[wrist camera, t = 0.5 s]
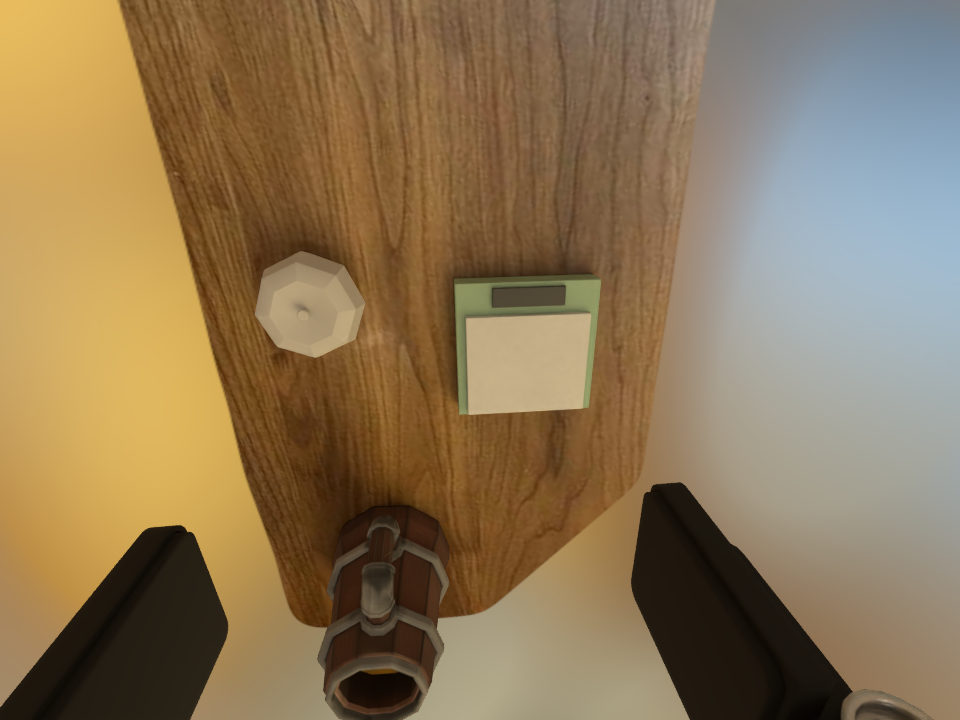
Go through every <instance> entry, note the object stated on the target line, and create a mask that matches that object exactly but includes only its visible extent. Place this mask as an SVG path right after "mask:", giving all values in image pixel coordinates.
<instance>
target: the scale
mask: <svg viewBox="0 0 960 720" xmlns="http://www.w3.org/2000/svg"><path fill="white" fill-rule="evenodd" d="M600 287H601V279H600V278H598V277H597V276H595V275H594V274H580V275H548V276H517V277H485V278H455V279H454V301H455V329H456V357H457V384H458V407H459V414H460V415H462V414H468V415H473V414H492V413H510V412H528V411H546V410H564V409H582V408H588V407H589V400H590V389H591V379H592V369H593V359H594V348H595V338H596V328H597V318H598V307H599V297H600Z"/></svg>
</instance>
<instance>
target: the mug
mask: <svg viewBox="0 0 960 720" xmlns="http://www.w3.org/2000/svg"><path fill="white" fill-rule="evenodd" d="M448 560H449V546H448V543H447V541H446V539H445V536H444V534H443V532H442V529H441V527H440V524H439V522H438V521H436V520H435V519H433V518H431V517H429V516H427V515H425V514H423V513H421V512H419V511H417V510H415V509H413V508H412V507H410V506H400V507H373V508H371V509H369V510H368V511H366V512H364V513H363V514H361V515H360V516H358V517H356V518H355V519H353V520H352V521H350V522H348V523H347V524H345V525H344V526H343V530H342V533H341V536H340V539H339V542H338V545H337V548H336V551H335V555H334V559H333V563H332V566H333V572H332V575H331V578H330V581H329V585H328V588H327V593H328V595H329V596H330V598H331V599H332V601H333V610H332V620H331V625H329V626H328V627H327V630H326V633H325V636H324V639H323V642H322V645H321V648H320V651H319V654H318V659H317V660H318V662H319V663H320V665H321V666H322V667H323V669H324V670H325V677H324V689H323V691H324V693H325V694H326V697H325V701H326V702H327V704H328V705H329V706H330V708H331V709H332V710H333V712H334V713H335V714H336V716H337V717H338V718H339V719H342V720H403V719H405V718H407V717H408V716H411V715H412V714H414V713H416V712H418V711H419V709H420V707H421V705H422V703H423V701H424V699H425V696H426V695H427V692H428V689H429V687H430V684H431V682H432V675H433V672H434V670H435V668H436V666H437V664H438V661H439V659H440V657H441V655H442V653H443V651H444V643H443V642H442V639H441V637H440V636H439V633H438V631H437V622H438V613H439V605H440V603H441V601H442V599H443V596H444V594H445V592H446V590H447V588H448V585H449V579H448V577H447V575H446V572H445V568H446V565H447V563H448Z"/></svg>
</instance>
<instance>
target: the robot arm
mask: <svg viewBox="0 0 960 720" xmlns="http://www.w3.org/2000/svg"><path fill="white" fill-rule="evenodd" d="M631 586H632V592H633V595H634V598H635V600H636V602H637V605H638V607H639V609H640V611H641V614H642V615H643V618H644V620H645V622H646V625H647V627H648V629H649V631H650V633H651V636H652V638H653V640H654V642H655V644H656V646H657V648H658V651H659V653H660V655H661V657H662V660H663V662H664V664H665V666H666V668H667V671H668V673H669V675H670V677H671V679H672V682H673V684H674V686H675V688H676V690H677V692H678V695H679V697H680V699H681V701H682V703H683V705H684V708H685V710H686V712H687V714H688V716H689V719H690V720H933V719H932V718H931V717H930V716H928V715H927V714H926V713H924V712H923V711H922V710H920V709H919V708H917V707H915V706H913V705H911V704H910V703H908V702H906V701H904V700H902V699H901V698H898V697H896V696H893V695H890V694H887V693H884V692H882V691H875V690H867V689H863V690H859V691H855V692H853V691H852V690H851V689H850V688H849V686H848V685H847V684H846V683H845V681H844V680H843V679H842V678H841V676H840V675H839V674H838V672H837V671H836V670H835V669H834V667H833V666H832V665H831V664H830V663H829V661H828V660H827V659H826V657H825V656H824V655H823V654H822V652H821V651H820V650H819V648H818V647H817V646H816V645H815V644H814V642H813V641H812V640H811V639H810V637H809V636H808V635H807V633H806V632H805V631H804V630H803V628H802V627H801V626H800V624H799V623H798V622H797V621H796V619H795V618H794V617H793V616H792V614H791V613H790V612H789V611H788V609H787V608H786V607H785V606H784V604H783V603H782V602H781V600H780V599H779V598H778V597H777V595H776V594H775V593H774V592H773V590H772V589H771V588H770V587H769V585H768V584H767V583H766V582H765V580H764V579H763V578H762V576H761V575H760V574H759V573H758V571H757V570H756V569H755V568H754V566H753V565H752V564H751V563H750V561H749V560H748V559H747V558H746V556H745V555H744V554H743V553H742V552H741V551H740V550H739V549H738V548H737V547H736V546H734V545H732V544H730V542H729V541H728V540H727V539H726V537H725V536H724V535H723V534H722V532H721V531H720V530H719V528H718V527H717V526H716V525H715V523H714V522H713V521H712V519H711V518H710V517H709V515H708V514H707V513H706V512H705V510H704V509H703V508H702V507H701V505H700V504H699V503H698V501H697V500H696V499H695V497H694V496H693V495H692V494H691V492H690V491H689V490H688V489H687V488H686V486H685V485H683V484H682V483H680V482H679V483H667V484H656V485H653V486H652V488H651V491H650V492H646V493H645V494H644V498H643V504H642V511H641V518H640V524H639V532H638V538H637V545H636V552H635V558H634V565H633V571H632V578H631ZM227 633H228V621H227V618H226V615H225V613H224V610H223V607H222V605H221V602H220V600H219V597H218V595H217V592H216V589H215V587H214V584H213V582H212V579H211V576H210V574H209V571H208V569H207V566H206V564H205V561H204V558H203V556H202V553H201V551H200V548H199V545H198V543H197V541H196V538H195V536H194V534H193V533H192V532H187V530H186V529H185V528H184V527H183V526H181V525H176V526H165V527H153V528H148V529H146V530H145V531H144V532H142V533H141V535H140V536H139V537H138V538H137V539H136V541H135V542H134V543H133V544H132V546H131V547H130V548H129V549H128V550H127V552H126V553H125V554H124V555H123V557H122V558H121V559H120V560H119V562H118V563H117V564H116V565H115V567H114V568H113V569H112V570H111V572H110V573H109V574H108V575H107V576H106V578H105V579H104V580H103V581H102V583H101V584H100V585H99V586H98V587H97V589H96V590H95V591H94V592H93V594H92V595H91V596H90V597H89V599H88V600H87V601H86V602H85V604H84V605H83V606H82V607H81V609H80V610H79V611H78V612H77V613H76V615H75V616H74V617H73V618H72V620H71V621H70V622H69V623H68V625H67V626H66V627H65V628H64V630H63V631H62V632H61V633H60V634H59V636H58V637H57V638H56V639H55V641H54V642H53V643H52V644H51V645H50V647H49V648H48V649H47V650H46V652H45V653H44V654H43V655H42V657H41V658H40V659H39V660H38V662H37V663H36V664H35V665H34V666H33V668H32V669H31V670H30V671H29V673H28V674H27V675H26V676H25V678H24V679H23V680H22V681H21V683H20V684H19V685H18V686H17V688H16V689H15V690H14V691H13V692H12V694H11V695H10V696H9V697H8V699H7V700H6V701H5V702H4V704H3V705H2V706H1V707H0V720H190V719H191V716H192V714H193V712H194V710H195V707H196V705H197V703H198V701H199V699H200V696H201V694H202V692H203V690H204V687H205V685H206V683H207V681H208V679H209V676H210V674H211V672H212V670H213V667H214V665H215V663H216V661H217V658H218V656H219V654H220V652H221V650H222V647H223V645H224V643H225V640H226V637H227Z"/></svg>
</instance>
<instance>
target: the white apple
mask: <svg viewBox="0 0 960 720" xmlns="http://www.w3.org/2000/svg"><path fill="white" fill-rule="evenodd" d="M364 307H365V301H364V299H363V298H362V296H361V294H360V292H359V291H358V289H357V287H356V286H355V284H354V282H353V280H352V279H351V277H350V275H349V273H348V272H347V270H346V268H345V266H344V265H342V264H339V263H336V262H333V261H330V260H328V259H325V258H322V257H319V256H316V255H313V254H311V253H307V252H303V251H300V252H298V253H296V254H294V255H292V256H290V257H288V258H286V259H284V260H282V261H280V262H278V263H276V264H274V265H272V266H270V267H268V268H266V269H264V272H263V276H262V280H261V285H260V291H259V296H258V301H257V306H256V311H255V316H256V317H257V319H258V320H259V322H260V323H261V324H262V326H263V327H264V329H265V330H266V331H267V333H268V334H269V336H270V337H271V338H272V340H273V341H274V343H275V344H276V346H277V347H280V348H283V349H287V350H290V351H294V352H297V353H300V354H304V355H307V356H311V357H314V358H316V357H319V356H321V355H324V354H326V353H328V352H330V351H332V350H334V349H336V348H338V347H340V346H342V345H344V344H347V343H349V342H351V341H353V340H355V339H356V335H357V332H358V328H359V325H360V321H361V317H362V314H363V310H364Z"/></svg>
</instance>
